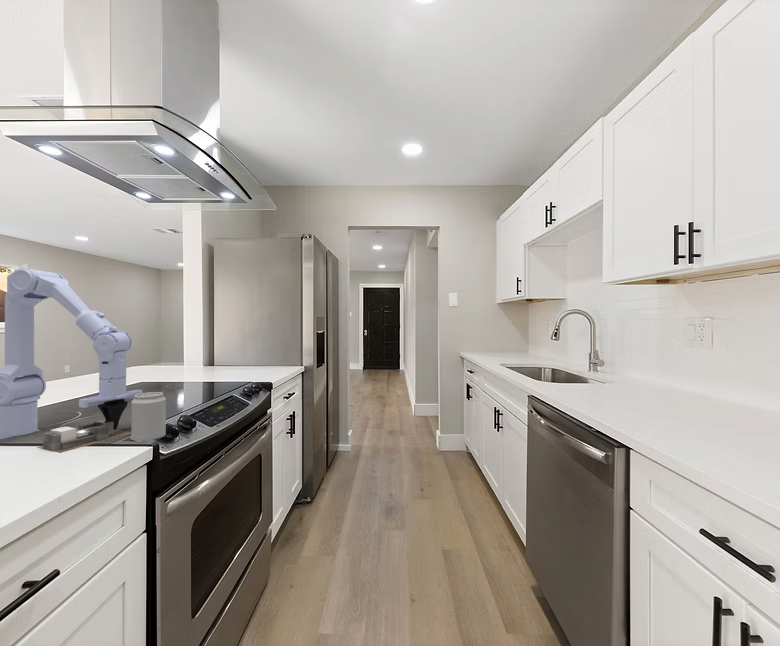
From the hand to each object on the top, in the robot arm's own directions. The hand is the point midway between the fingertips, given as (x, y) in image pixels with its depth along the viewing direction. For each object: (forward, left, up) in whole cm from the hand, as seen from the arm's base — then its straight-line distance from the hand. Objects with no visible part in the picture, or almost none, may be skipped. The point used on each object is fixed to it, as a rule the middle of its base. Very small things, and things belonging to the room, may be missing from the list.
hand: (112, 429), depth 98 cm
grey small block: (0, -5, -1) cm, 5 cm away
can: (+11, +2, -2) cm, 11 cm away
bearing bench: (0, -6, -2) cm, 6 cm away
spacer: (0, -11, -1) cm, 11 cm away
